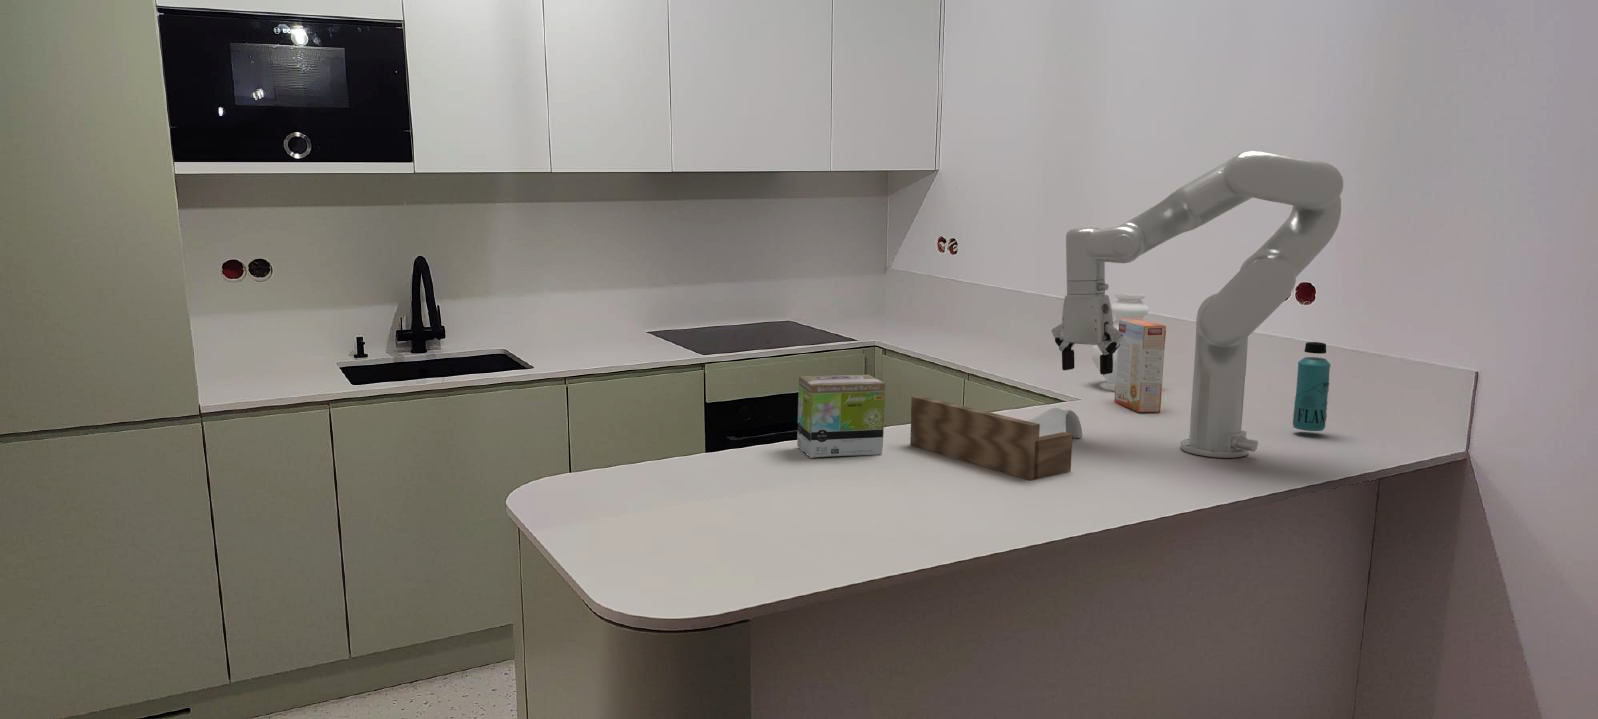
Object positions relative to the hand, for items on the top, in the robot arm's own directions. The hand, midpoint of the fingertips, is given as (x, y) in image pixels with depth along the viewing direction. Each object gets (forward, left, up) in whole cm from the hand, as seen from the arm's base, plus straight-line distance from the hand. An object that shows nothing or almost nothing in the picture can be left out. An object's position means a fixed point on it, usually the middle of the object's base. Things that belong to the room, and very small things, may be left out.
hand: (1087, 371), depth 213 cm
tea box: (+21, +48, -15) cm, 54 cm away
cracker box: (+15, -38, -15) cm, 44 cm away
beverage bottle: (-24, -44, -15) cm, 52 cm away
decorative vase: (+33, -57, -15) cm, 68 cm away
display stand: (+1, +27, -15) cm, 31 cm away
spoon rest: (+1, +11, -15) cm, 18 cm away
